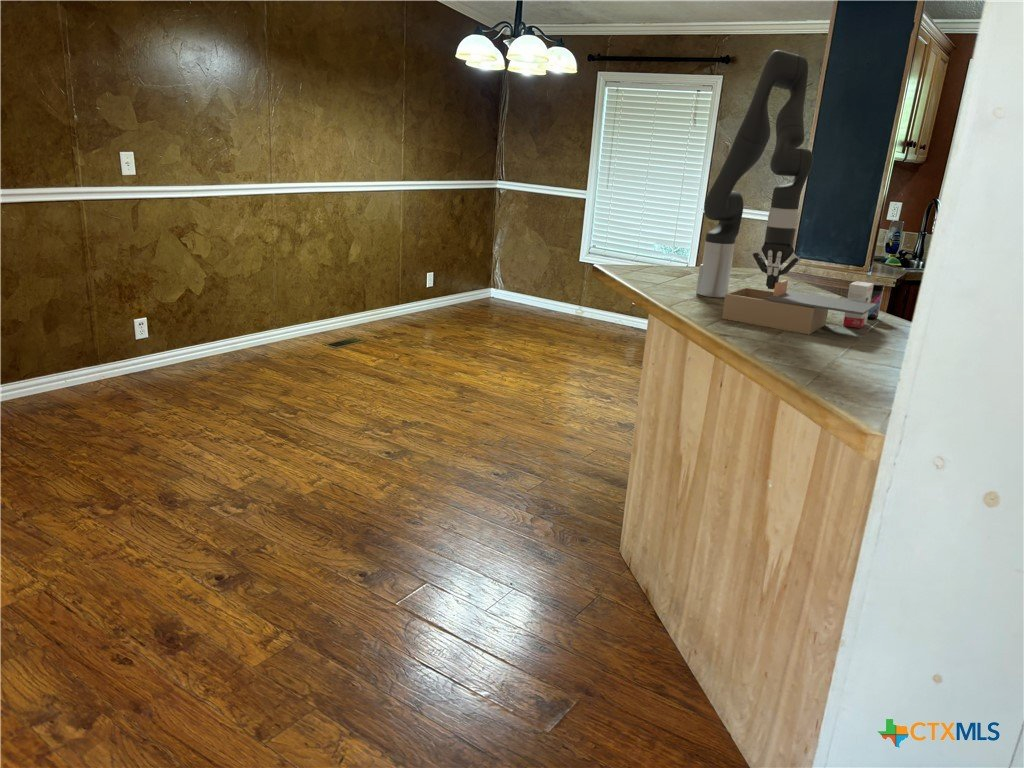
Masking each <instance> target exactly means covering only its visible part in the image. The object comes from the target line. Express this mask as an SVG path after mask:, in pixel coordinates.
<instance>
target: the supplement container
mask: <svg viewBox="0 0 1024 768" xmlns="http://www.w3.org/2000/svg"><path fill="white" fill-rule="evenodd" d="M859 282H867V283H874V285H873V291H872V296H871V302H870V303H874V304H877V306H876V307H875V308H873V309H871V310H870V311H869V312H868V318H867V321H874V319H875V320H877V319H878V317H879V313H880V308H881V304H882V299H883V295H884V291H885V283H883V282H878V281H871V280H860V281H859Z"/></svg>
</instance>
